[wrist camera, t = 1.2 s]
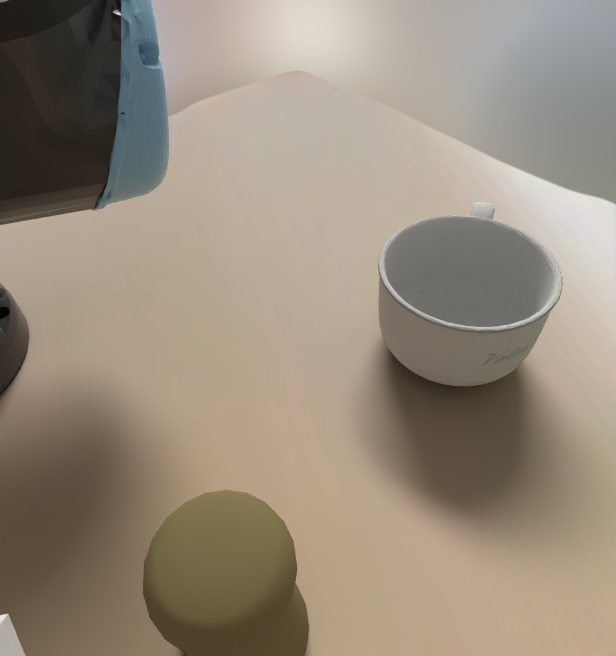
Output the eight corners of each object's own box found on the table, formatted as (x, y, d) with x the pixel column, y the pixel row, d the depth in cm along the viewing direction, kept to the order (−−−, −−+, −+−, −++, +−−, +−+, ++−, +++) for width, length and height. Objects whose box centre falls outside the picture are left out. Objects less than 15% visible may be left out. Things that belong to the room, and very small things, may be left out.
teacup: (491, 436, 31) (535, 356, 25) (341, 363, 35) (348, 279, 29) (548, 303, 39) (592, 218, 33) (421, 256, 43) (439, 173, 37)
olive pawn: (326, 674, 23) (336, 619, 14) (195, 728, 21) (125, 702, 13) (288, 545, 26) (278, 443, 18) (175, 584, 25) (110, 494, 17)
